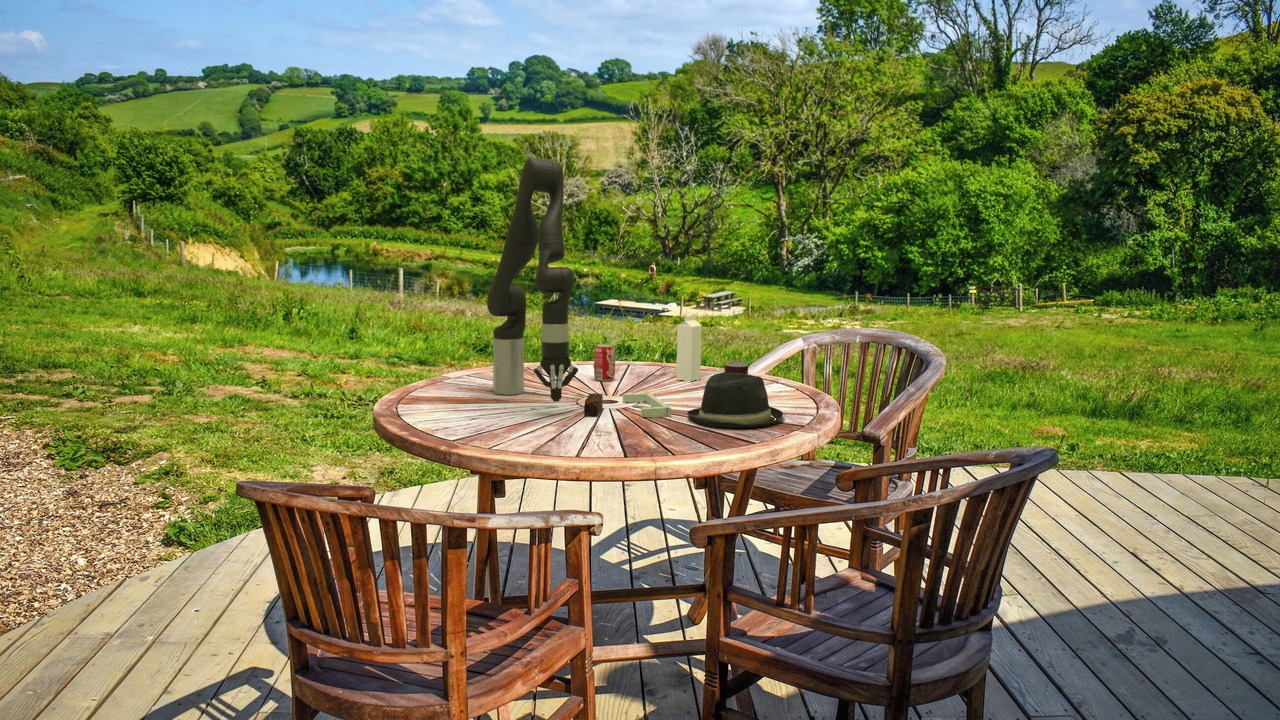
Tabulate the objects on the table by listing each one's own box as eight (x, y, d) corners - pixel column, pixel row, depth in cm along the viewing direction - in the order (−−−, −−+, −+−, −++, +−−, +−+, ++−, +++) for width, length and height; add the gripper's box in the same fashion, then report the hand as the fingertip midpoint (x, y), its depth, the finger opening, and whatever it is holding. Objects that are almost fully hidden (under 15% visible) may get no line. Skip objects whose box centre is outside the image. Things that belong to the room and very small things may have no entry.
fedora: (801, 420, 237) (803, 375, 235) (736, 436, 219) (738, 388, 217) (733, 405, 255) (735, 363, 253) (668, 418, 237) (669, 374, 235)
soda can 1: (616, 378, 294) (616, 344, 292) (613, 382, 287) (613, 347, 285) (595, 377, 294) (595, 343, 292) (592, 381, 287) (592, 346, 285)
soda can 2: (725, 404, 254) (726, 364, 252) (721, 399, 261) (723, 360, 259) (748, 405, 255) (750, 364, 253) (744, 400, 262) (746, 360, 260)
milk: (676, 380, 292) (676, 316, 288) (686, 378, 297) (687, 314, 293) (691, 382, 288) (692, 317, 285) (700, 380, 293) (702, 315, 289)
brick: (589, 408, 247) (589, 392, 247) (602, 409, 247) (603, 393, 246) (583, 417, 237) (583, 400, 236) (597, 417, 237) (598, 401, 236)
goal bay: (642, 417, 236) (642, 409, 236) (622, 402, 256) (622, 393, 256) (670, 416, 238) (671, 407, 238) (649, 400, 258) (649, 392, 258)
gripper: (576, 337, 242) (576, 397, 245) (529, 338, 238) (530, 399, 241) (581, 340, 235) (582, 402, 237) (533, 342, 231) (534, 405, 234)
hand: (556, 401), depth 239 cm, fingers closed
